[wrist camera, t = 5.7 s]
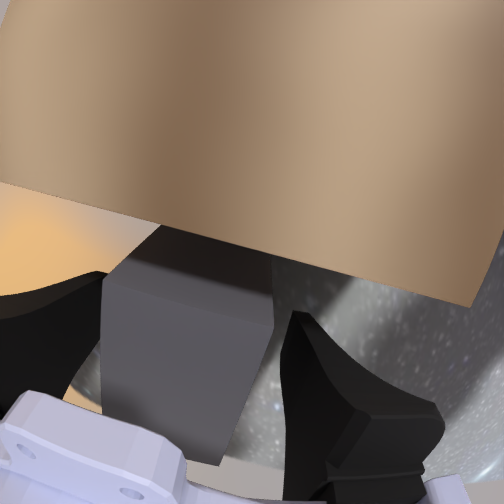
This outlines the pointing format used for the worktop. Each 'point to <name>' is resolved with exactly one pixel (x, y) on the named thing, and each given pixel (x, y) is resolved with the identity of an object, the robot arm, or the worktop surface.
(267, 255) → the grey upright cuboid
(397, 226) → the wooden tan block
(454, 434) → the worktop surface
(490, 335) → the worktop surface
